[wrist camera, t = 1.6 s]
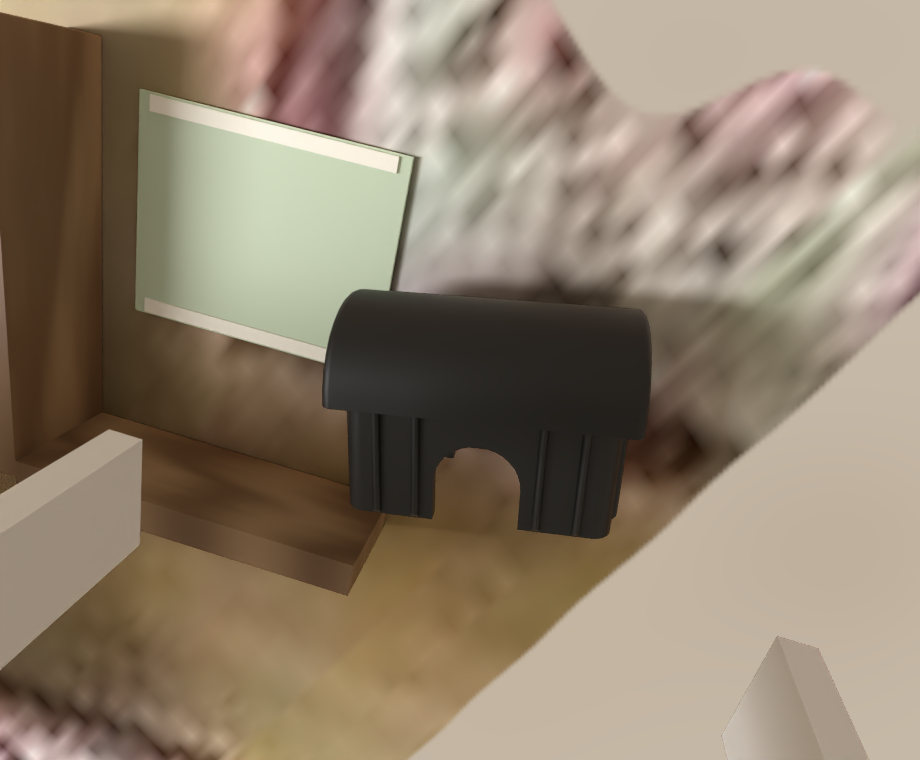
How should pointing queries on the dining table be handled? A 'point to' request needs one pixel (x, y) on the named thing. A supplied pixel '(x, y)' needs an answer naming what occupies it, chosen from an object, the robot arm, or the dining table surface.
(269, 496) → the brown l-shaped piece
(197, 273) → the pad
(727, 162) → the dining table surface
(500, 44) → the dining table surface
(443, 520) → the dining table surface
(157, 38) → the dining table surface
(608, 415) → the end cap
